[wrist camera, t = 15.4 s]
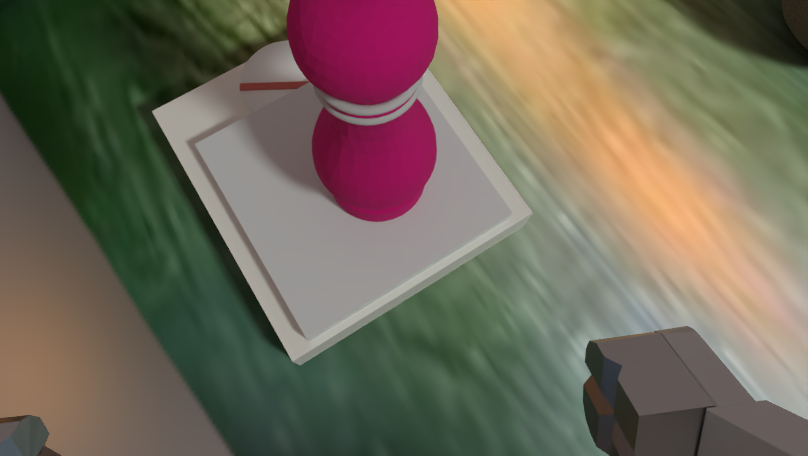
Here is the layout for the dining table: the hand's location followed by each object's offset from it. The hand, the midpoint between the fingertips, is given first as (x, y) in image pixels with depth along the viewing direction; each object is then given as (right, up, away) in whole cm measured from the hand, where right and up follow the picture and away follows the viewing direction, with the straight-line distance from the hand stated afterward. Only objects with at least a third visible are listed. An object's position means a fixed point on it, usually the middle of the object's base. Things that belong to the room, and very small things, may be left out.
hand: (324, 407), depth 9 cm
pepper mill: (-1, +6, +30) cm, 31 cm away
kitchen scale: (-3, +6, +35) cm, 35 cm away
